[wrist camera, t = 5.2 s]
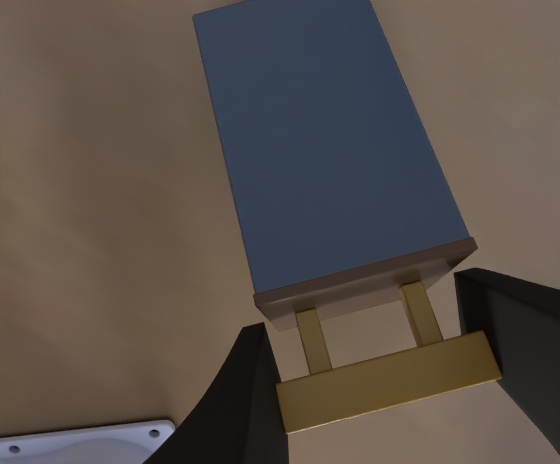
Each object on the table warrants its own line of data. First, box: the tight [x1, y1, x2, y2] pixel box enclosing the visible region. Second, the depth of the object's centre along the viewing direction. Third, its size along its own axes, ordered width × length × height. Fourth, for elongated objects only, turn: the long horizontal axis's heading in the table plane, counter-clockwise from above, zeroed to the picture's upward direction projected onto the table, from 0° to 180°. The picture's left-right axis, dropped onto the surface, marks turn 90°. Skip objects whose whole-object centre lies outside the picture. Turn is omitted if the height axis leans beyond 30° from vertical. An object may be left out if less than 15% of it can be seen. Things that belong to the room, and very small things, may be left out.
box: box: [193, 0, 502, 434], centre depth 13 cm, size 12×6×6 cm
